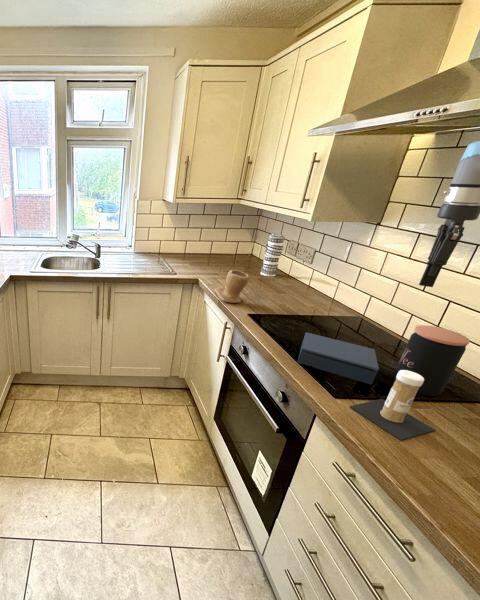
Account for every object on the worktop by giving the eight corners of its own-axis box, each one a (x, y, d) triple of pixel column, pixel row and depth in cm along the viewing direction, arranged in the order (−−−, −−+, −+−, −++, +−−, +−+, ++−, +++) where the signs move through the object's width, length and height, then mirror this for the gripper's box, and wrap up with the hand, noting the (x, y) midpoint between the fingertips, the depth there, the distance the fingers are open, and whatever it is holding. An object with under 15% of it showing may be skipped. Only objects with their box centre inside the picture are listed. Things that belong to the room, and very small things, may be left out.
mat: (434, 431, 79) (435, 429, 78) (400, 441, 76) (401, 439, 75) (381, 399, 89) (382, 398, 89) (349, 407, 86) (350, 405, 86)
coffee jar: (394, 371, 102) (417, 321, 95) (442, 387, 94) (471, 334, 88) (388, 384, 96) (412, 332, 89) (439, 402, 88) (469, 347, 81)
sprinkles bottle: (399, 426, 79) (421, 382, 74) (376, 415, 83) (396, 372, 78) (405, 419, 82) (427, 376, 76) (383, 409, 85) (402, 367, 80)
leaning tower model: (258, 274, 197) (267, 234, 187) (260, 271, 204) (269, 232, 194) (275, 277, 192) (285, 236, 182) (276, 273, 199) (287, 234, 189)
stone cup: (247, 305, 152) (253, 276, 146) (221, 304, 153) (226, 274, 147) (237, 294, 165) (243, 266, 160) (213, 293, 167) (218, 265, 161)
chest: (371, 384, 96) (377, 372, 94) (297, 362, 106) (300, 351, 105) (368, 362, 107) (373, 351, 105) (301, 344, 118) (305, 333, 116)
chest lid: (378, 371, 93) (379, 369, 93) (301, 350, 104) (301, 348, 104) (373, 351, 105) (374, 349, 105) (305, 333, 116) (305, 332, 115)
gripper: (437, 201, 92) (405, 277, 101) (448, 205, 83) (411, 288, 92) (475, 203, 88) (438, 282, 97) (491, 206, 79) (449, 294, 88)
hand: (425, 285), depth 94 cm, fingers closed
